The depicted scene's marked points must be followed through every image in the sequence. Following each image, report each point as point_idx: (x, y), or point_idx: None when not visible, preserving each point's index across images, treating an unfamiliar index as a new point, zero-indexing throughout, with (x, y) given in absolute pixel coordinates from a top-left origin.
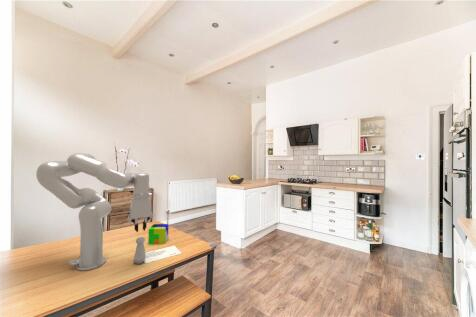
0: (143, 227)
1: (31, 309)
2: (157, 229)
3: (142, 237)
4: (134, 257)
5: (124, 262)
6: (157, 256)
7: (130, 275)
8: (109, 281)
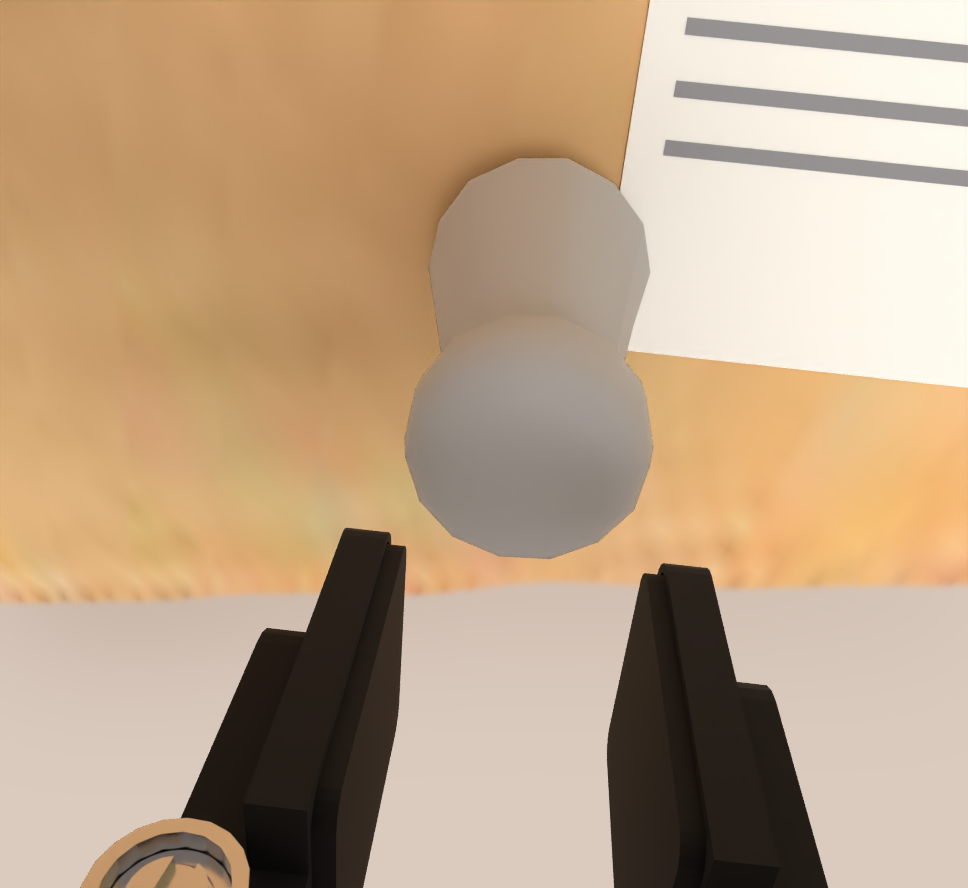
0: (625, 774)
1: None
2: None
3: (590, 476)
4: (431, 282)
5: (308, 51)
6: (876, 241)
7: (335, 522)
8: (98, 492)
